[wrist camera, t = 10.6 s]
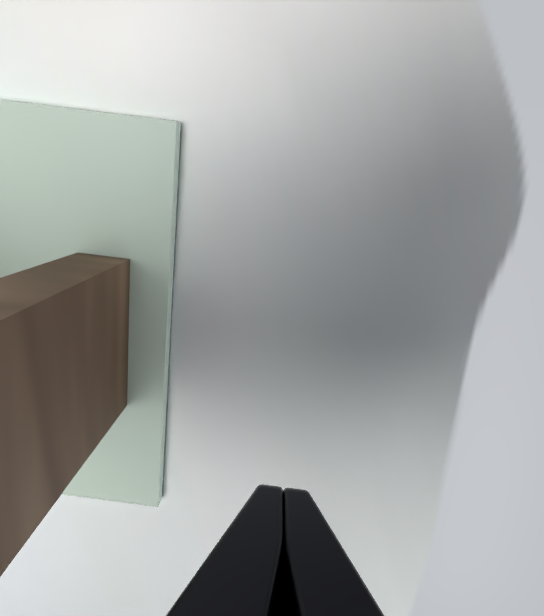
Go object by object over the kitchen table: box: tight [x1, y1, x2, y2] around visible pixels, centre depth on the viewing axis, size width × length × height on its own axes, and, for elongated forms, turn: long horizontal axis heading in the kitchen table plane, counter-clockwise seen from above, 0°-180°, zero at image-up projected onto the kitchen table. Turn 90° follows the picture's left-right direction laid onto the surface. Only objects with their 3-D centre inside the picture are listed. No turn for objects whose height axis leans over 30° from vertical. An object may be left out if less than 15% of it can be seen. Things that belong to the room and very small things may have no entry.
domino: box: [0, 252, 130, 576], centre depth 9 cm, size 2×5×10 cm, turn 174°
